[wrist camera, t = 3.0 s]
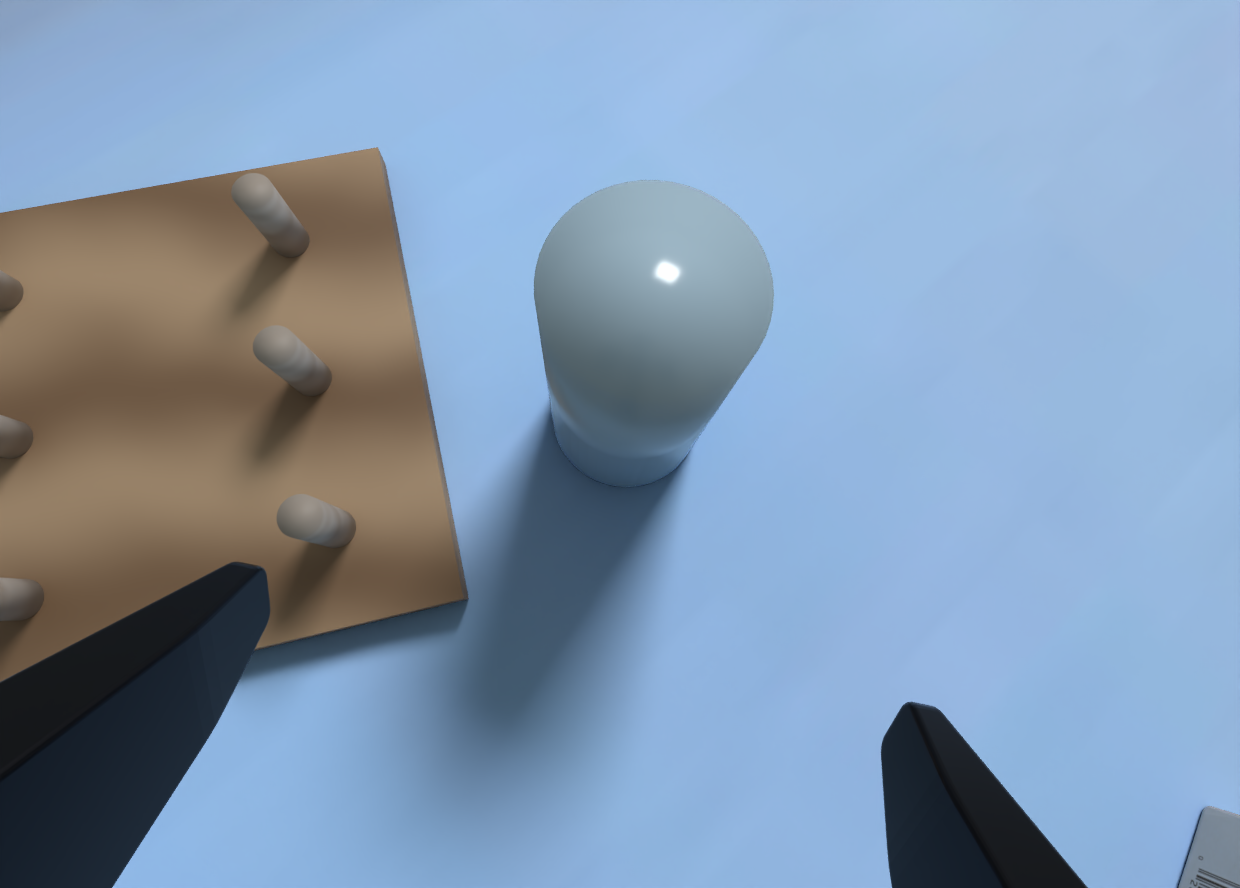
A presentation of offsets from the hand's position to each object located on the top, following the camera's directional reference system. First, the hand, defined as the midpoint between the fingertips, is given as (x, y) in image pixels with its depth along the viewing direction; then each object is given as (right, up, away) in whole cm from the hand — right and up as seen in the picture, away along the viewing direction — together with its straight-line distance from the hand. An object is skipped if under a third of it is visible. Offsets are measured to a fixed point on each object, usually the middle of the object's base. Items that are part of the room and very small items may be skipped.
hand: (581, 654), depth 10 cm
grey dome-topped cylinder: (+1, +4, +15) cm, 15 cm away
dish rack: (-14, +4, +14) cm, 20 cm away
